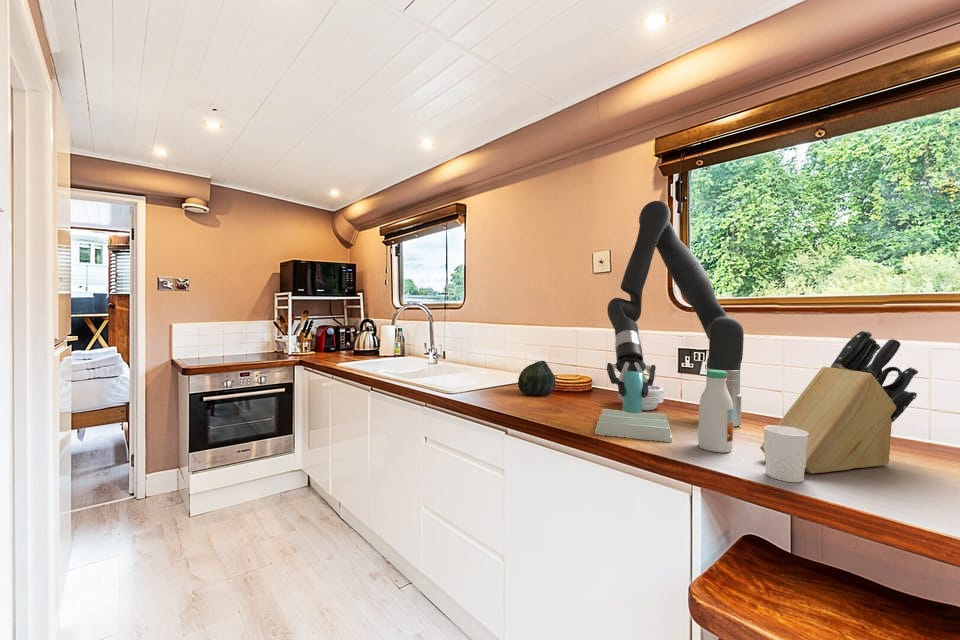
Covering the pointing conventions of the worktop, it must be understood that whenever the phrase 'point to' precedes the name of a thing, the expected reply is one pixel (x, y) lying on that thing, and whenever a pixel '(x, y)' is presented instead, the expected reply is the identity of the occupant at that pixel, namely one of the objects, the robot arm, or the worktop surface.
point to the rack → (634, 425)
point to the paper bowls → (651, 397)
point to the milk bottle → (716, 414)
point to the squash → (537, 379)
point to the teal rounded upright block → (633, 391)
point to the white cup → (785, 452)
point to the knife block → (851, 407)
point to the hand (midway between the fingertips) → (633, 395)
